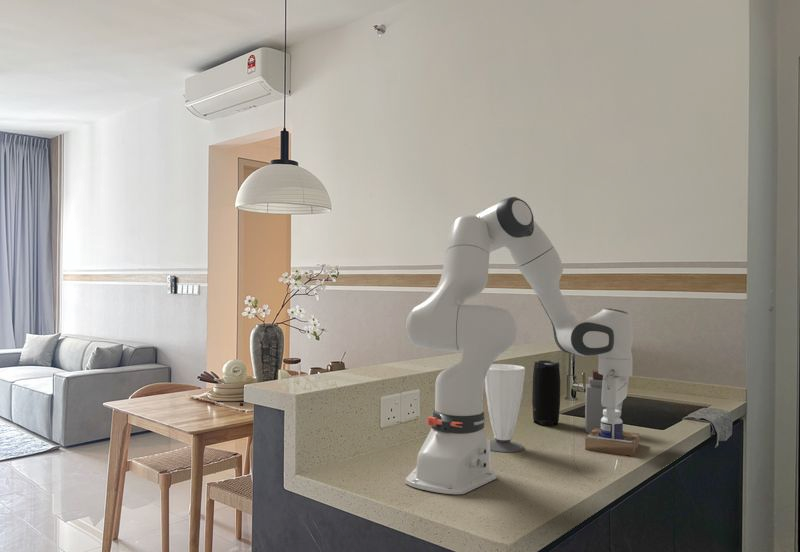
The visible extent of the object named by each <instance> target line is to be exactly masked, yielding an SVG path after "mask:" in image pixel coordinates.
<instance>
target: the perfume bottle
mask: <svg viewBox="0 0 800 552" xmlns="http://www.w3.org/2000/svg"><path fill="white" fill-rule="evenodd" d="M591 373H592V376H588V377H587V378H588V383H585V395H584V397H585V398H584V399H585V400H584V401H585V403H584V404H585V405H584V406H585V408H584V415H585V416H584V429H585V433H587V434H588V433H589V434H590V433H591V432H592V430H593V429H594V428H600V429H601V419H602V418H603V417H604V415H603V410H604V409H606V407H603V406H602V402H601V399H602V383H603V375H601V374H599V373H598V370H591Z"/></svg>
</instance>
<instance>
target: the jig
mask: <svg viewBox="0 0 800 552" xmlns="http://www.w3.org/2000/svg"><path fill="white" fill-rule="evenodd" d="M584 439H585V441H584V442H585V443H584V444H585V445H584V450H586V451H592V452H599V453H604V454H605V453H606V454H613V455H619V454H620V455H621V456H626V455H629V456H628V457H634V455H635V453H636V451H637V450H638V447H639V445H640V433H638V432H631V431H623V439H611V438H604V437H601V429H600V428H594V429H593V430H592V432H591V433H589V434H588V435H587V436H586V437H585V438H584ZM620 455H619V456H620Z"/></svg>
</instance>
